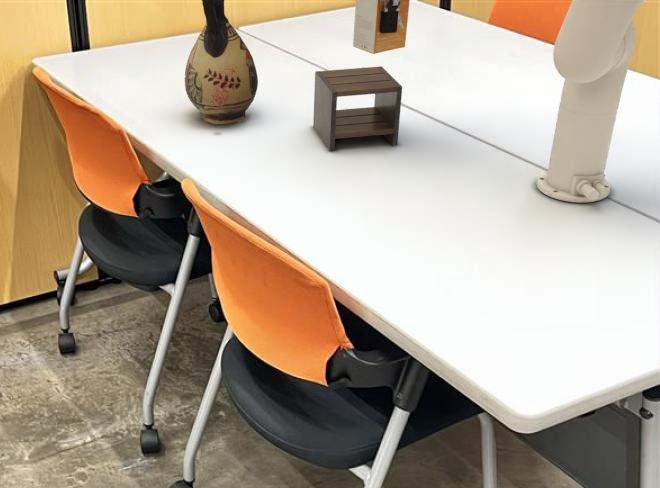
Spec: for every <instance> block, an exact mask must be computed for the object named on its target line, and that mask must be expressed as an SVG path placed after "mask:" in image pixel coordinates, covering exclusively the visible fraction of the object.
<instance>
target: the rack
mask: <svg viewBox="0 0 660 488" xmlns="http://www.w3.org/2000/svg"><path fill="white" fill-rule="evenodd" d="M314 72H315V73H314V93H313V94H314V96H313V123H312V127H313V130H314V131H315V133H316V135H318V137H319V138H320V139H321V141H322V143H323V144H324V145H325V146H326V148H327V150H328V151H329V152H335V148H336V147H335V146H336V139H349V138H357V137H369V136H371V137H372V136H381V135H383V136H384V137H385V139H386V140H387V141H388V142H389V143H390V144H391V145H392V146H398V144H399V143H398V141H399V132H400V131H399V129H400V119H401V107H402V95H403V86H402V85H401V83H399V81H397V80H396V79H395V78H394V77H393V76H392V75H391V74H390V73H389V72H388V70H386V69H385V68H384V67H383V66H369V67H357V68H344V69H331V70H317V71H314ZM365 95H374V105H373V106H368V107H357V108H343V109H337V108H338V107H337V105H338V98H340V97H353V96H365Z"/></svg>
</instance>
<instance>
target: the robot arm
mask: <svg viewBox="0 0 660 488" xmlns="http://www.w3.org/2000/svg"><path fill="white" fill-rule="evenodd" d="M646 2H647V0H572V1H571V3H570V5H569V8H568V10H567V12H566V15H565V17H564V19H563V21H562V24H561V27H560V29H559V32H558V34H557V36H556V39H555V42H554V45H553V49H552V59H553V65H554V67H555V69H556V71H557V73H558V74H559V76H560V77H562V79H564V81H563V85H562V89H561V96H560V101H559V104H558V105H559V106H558V111H557V117H556V122H555V126H554V127H555V128H554V133H553V139H552V144H551V150H550V156H549V162H548V168H547V171H544V172H542V173H541V174H539V175H538V176H537V178H536V187H537V189H538V190H539V191H540V192H541V193H542V194H543V195H545V196H548V197H550V198H552V199H556V200H559V201H564V202H569V203H593V202H598V201H601V200H604V199H605V198H607V197H609V195H610V191H611V184H610V182H609V181H608V180H607V179H606V174H605V171H606V166H607V161H608V156H609V151H610V148H611V142H612V138H613V133H614V130H615V129H614V128H615V123H616V119H617V115H618V110H619V106H620V103H621V97H622V93H623V89H624V84H625V82H626V81H625V80H626V77H627V74H628V70H629V67H630V65H631V61H632V58H633V54H634V51H635V47H636V39H637V38H636V36H637V35H636V34H637V33H636V28H635V24H634V21H633V18H634V17H635V14H636V12H637V10H638V8H640V6H642V5H643V4H645V3H646ZM399 5H400V0H389V2H388V4H387V0H383V11H381V18H380V33H382V34H383V33H395V32H397V24H398V13H399Z"/></svg>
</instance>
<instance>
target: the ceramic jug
mask: <svg viewBox="0 0 660 488" xmlns="http://www.w3.org/2000/svg"><path fill="white" fill-rule="evenodd" d="M201 4H202V7H203V9H202V10H203V13H204V16H205V25H204V27H203V28H202V30H201V32H200V33H199V35H198V36H197V39H196V41H195V43H194V45H193V47H192V48H191V51H190V53H189V55H188V58H187V61H186V65H185V70H184V88H185V92H186V95H187V97H188V99H189V101H190V102H191V104H192V105H193V106H194V107H195V108H196V109H197V111H199V113H200V115H201V117H202V119H203V121H205V122H207V123H209V124H213V125H215V126H217V125H223V124H224V125H225V124H232V123H238V122H242V121H243V120H244V119H245V118H246V117H247V114H246V111H247V110H248V109H249V107H250V106H251V105H252V103H253V101H254V100H255V97H256V95H257V91H258V85H259V78H258V72H257V68H256V65H255V60H254V58H253V55H252V53H251V51H250V50H249V48H248V46H247V45H246V43H245V42H244V41H243V39H242V37H241V35H239V33H238V31H237V30H236V29H235V28H234V27H233V25H232V24H231V23H230V21H229V18H227V16H226V14H225V0H201Z"/></svg>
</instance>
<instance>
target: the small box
mask: <svg viewBox="0 0 660 488" xmlns="http://www.w3.org/2000/svg"><path fill="white" fill-rule="evenodd" d="M388 2H389V0H387V4H388ZM409 9H410V0H400V5H399V13H398V24H397V32H395V33H383V34H382V33H380V18H381V11H383V0H355V9H354V10H355V11H354V23H353V24H354V25H353V39H352V47H353V48H355V49H359V50H361V51H364V52H366V53H370V54H372V55H376V54H379V53H385V52H387V51H392V50H399V49H404V48H405V47H406V41H407V30H408V29H407V28H408V21H409V12H410V11H409Z"/></svg>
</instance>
